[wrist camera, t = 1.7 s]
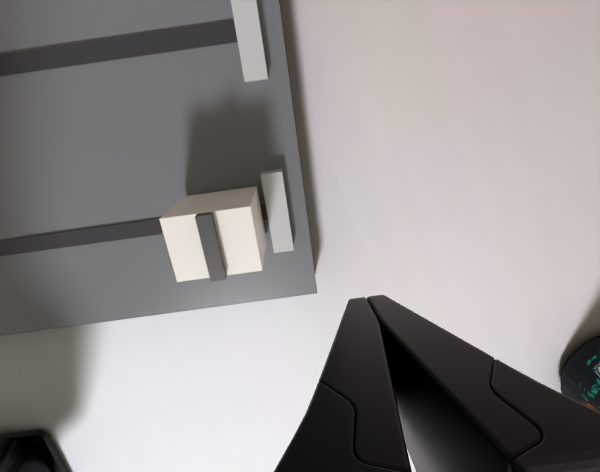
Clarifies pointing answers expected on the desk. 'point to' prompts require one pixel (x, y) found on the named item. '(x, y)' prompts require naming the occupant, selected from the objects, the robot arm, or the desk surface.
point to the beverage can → (583, 375)
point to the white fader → (215, 234)
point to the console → (139, 154)
